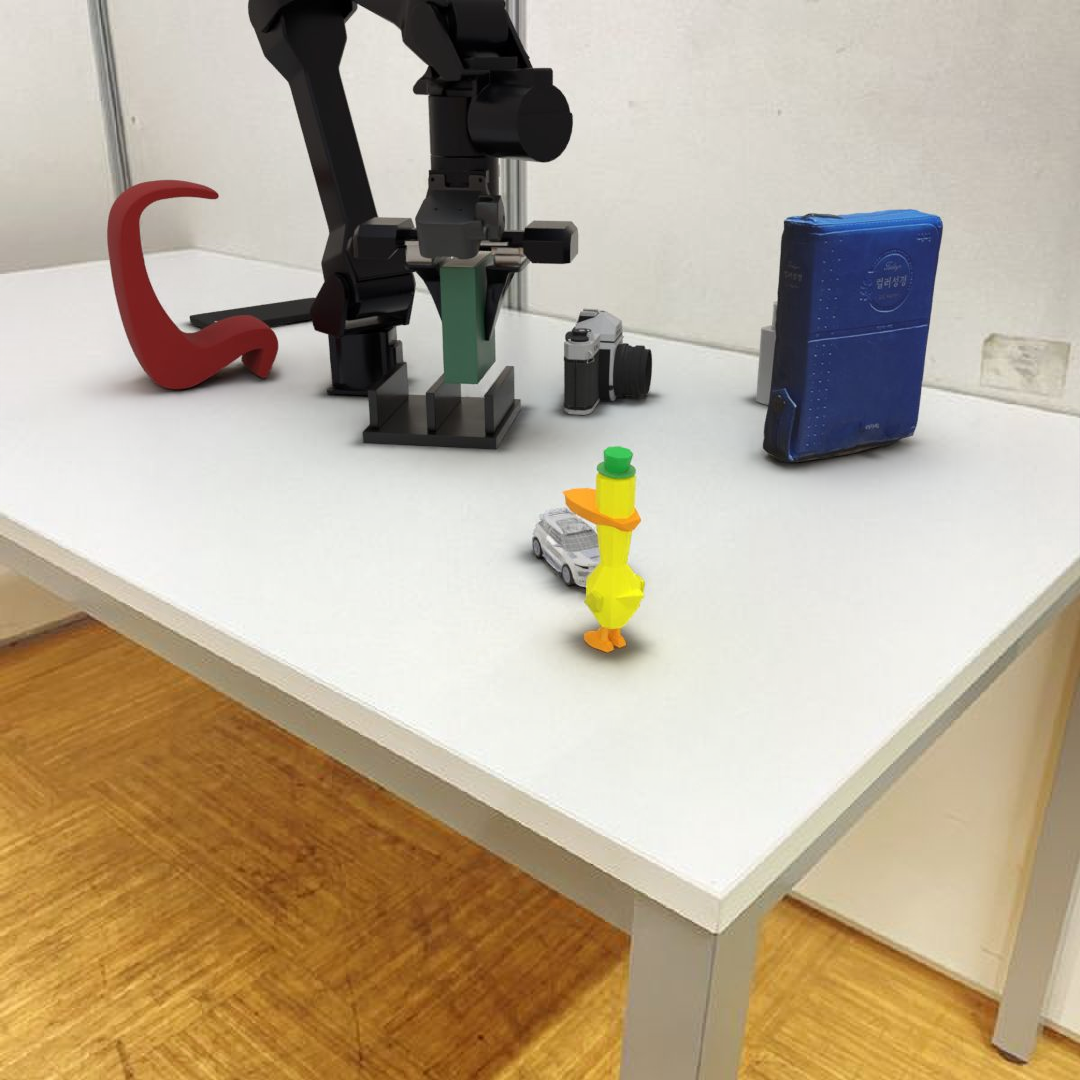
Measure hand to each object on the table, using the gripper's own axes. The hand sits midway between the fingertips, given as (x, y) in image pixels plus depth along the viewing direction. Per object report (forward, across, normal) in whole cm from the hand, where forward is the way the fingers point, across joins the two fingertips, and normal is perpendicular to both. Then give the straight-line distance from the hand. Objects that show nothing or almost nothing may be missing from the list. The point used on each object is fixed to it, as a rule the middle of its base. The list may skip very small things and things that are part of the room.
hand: (469, 339), depth 100 cm
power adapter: (+8, +28, +13) cm, 32 cm away
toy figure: (+8, +16, -39) cm, 43 cm away
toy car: (+8, +14, -29) cm, 33 cm away
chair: (+8, -32, +12) cm, 35 cm away
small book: (+3, 0, 0) cm, 3 cm away
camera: (+8, +12, +11) cm, 18 cm away
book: (+8, +32, -2) cm, 34 cm away
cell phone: (+8, -36, +40) cm, 54 cm away
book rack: (+8, -2, 0) cm, 8 cm away
